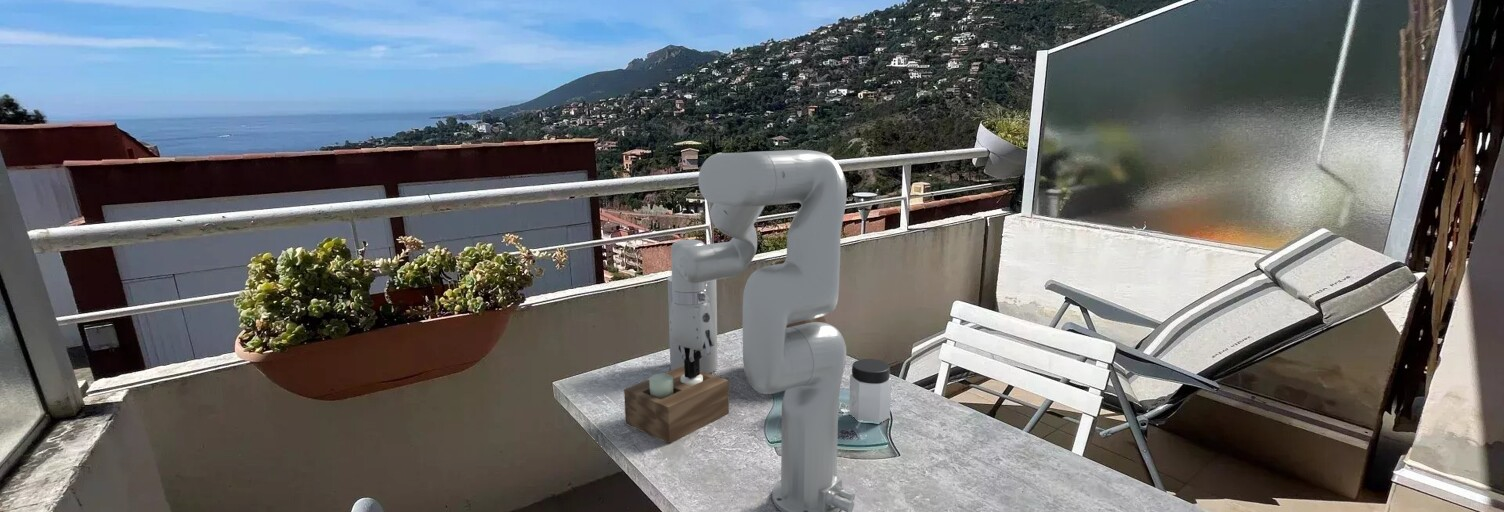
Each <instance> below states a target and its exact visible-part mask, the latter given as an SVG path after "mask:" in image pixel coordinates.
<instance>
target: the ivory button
mask: <svg viewBox="0 0 1504 512" xmlns="http://www.w3.org/2000/svg"><path fill="white" fill-rule="evenodd" d="M702 381H703V376H702V375H701V374H700V375H698V376H696V377H694V378H691V379H690V378H687V377H685V374H684V375H682V376H681V382H682V383H685V384H687V385H690V386H693V385H695V384H697V383H700V382H702Z"/></svg>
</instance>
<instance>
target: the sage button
mask: <svg viewBox="0 0 1504 512" xmlns="http://www.w3.org/2000/svg"><path fill="white" fill-rule="evenodd" d="M664 373H665V372H664ZM664 373H655V374H653V375H651V376H650V377H649V378H648V380H649V382H650V396H653V397H655V398H658V399H660V400H661V399H663V398H665V397H668V396H670V395H672V394H674V391H673V376H672V375H670V374H664Z"/></svg>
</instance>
